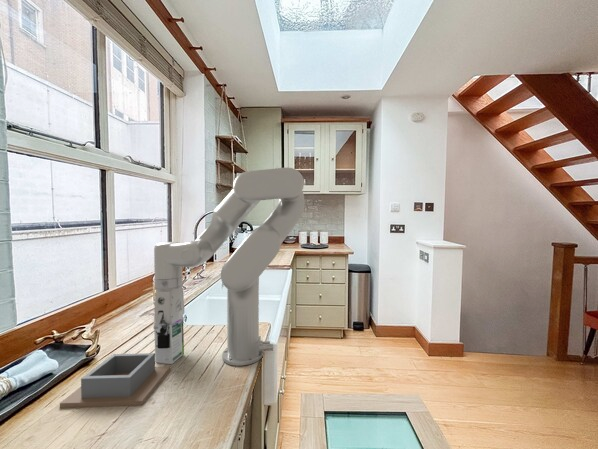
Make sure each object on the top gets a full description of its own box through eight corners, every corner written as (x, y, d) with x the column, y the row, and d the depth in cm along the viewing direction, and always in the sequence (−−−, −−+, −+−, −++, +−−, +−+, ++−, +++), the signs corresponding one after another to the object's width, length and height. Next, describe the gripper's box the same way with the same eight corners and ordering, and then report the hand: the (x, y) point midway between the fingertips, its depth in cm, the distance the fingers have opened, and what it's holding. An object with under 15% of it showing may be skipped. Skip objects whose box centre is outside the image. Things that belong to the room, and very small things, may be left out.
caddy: (170, 369, 72) (170, 350, 72) (142, 405, 58) (141, 381, 58) (104, 371, 72) (104, 351, 72) (59, 407, 58) (59, 383, 58)
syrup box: (171, 364, 75) (171, 314, 75) (154, 362, 76) (153, 313, 76) (184, 354, 80) (183, 308, 80) (167, 352, 82) (167, 307, 81)
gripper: (167, 290, 69) (168, 356, 70) (192, 276, 87) (192, 329, 87) (139, 290, 69) (140, 357, 69) (169, 277, 87) (170, 330, 87)
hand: (169, 341), depth 78 cm, fingers closed on syrup box, 6 cm apart
